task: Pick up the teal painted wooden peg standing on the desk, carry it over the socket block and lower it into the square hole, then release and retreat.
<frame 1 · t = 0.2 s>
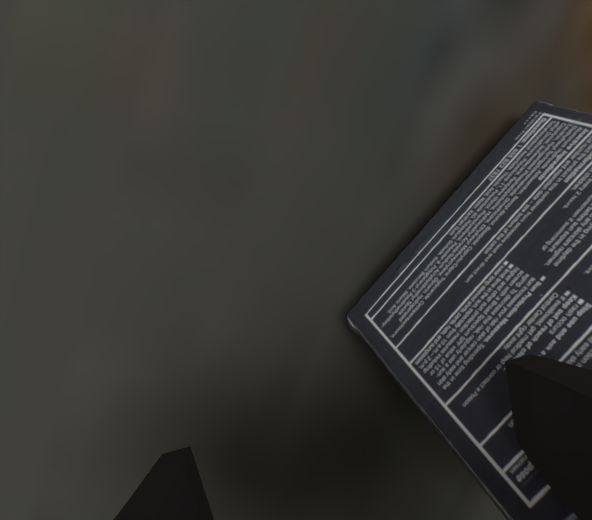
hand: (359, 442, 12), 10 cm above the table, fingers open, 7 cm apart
small box: (479, 253, 21), point 1 cm above the table
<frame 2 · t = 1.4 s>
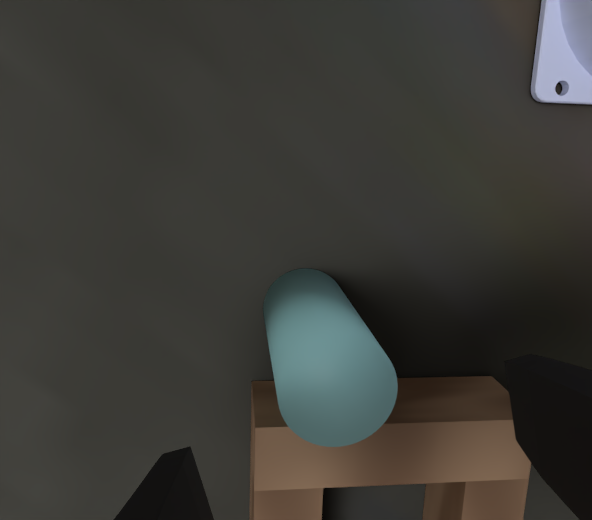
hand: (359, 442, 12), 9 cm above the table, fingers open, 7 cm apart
socket block: (367, 486, 23), on the table
peg: (304, 308, 21), on the table
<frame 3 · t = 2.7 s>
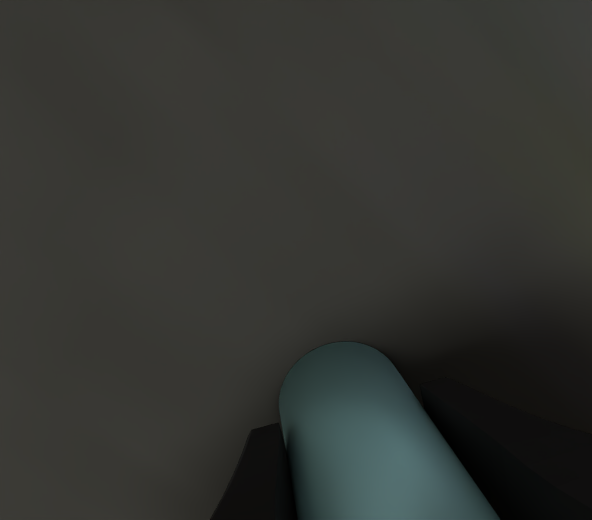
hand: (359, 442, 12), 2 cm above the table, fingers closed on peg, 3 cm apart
peg: (341, 400, 14), on the table, touching gripper
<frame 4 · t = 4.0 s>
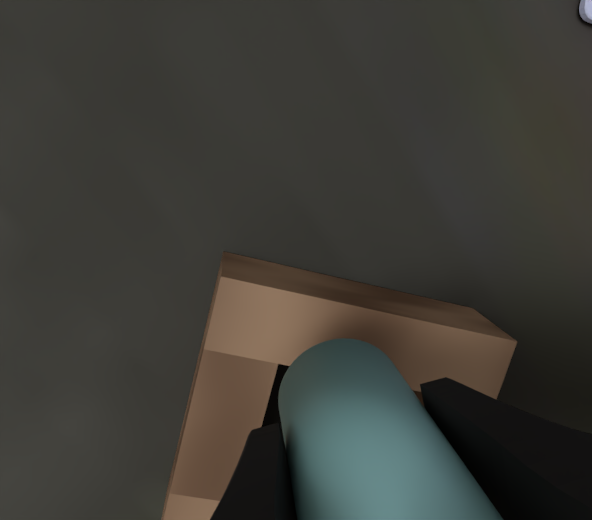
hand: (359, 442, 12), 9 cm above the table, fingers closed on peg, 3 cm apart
socket block: (318, 398, 21), on the table
peg: (340, 397, 14), point 7 cm above the table, touching gripper
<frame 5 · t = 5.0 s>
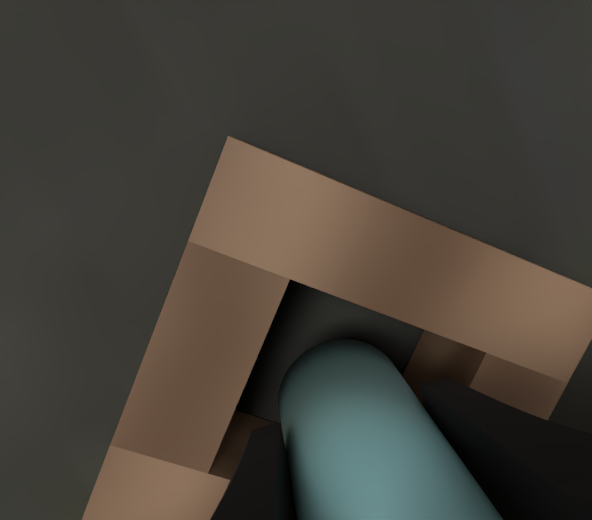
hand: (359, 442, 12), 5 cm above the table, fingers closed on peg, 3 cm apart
socket block: (324, 355, 16), on the table
peg: (340, 398, 14), point 3 cm above the table, touching gripper
when the fingers open (4 cm above the table, at t = 5.4 s): peg drops 2 cm, resting in socket block.
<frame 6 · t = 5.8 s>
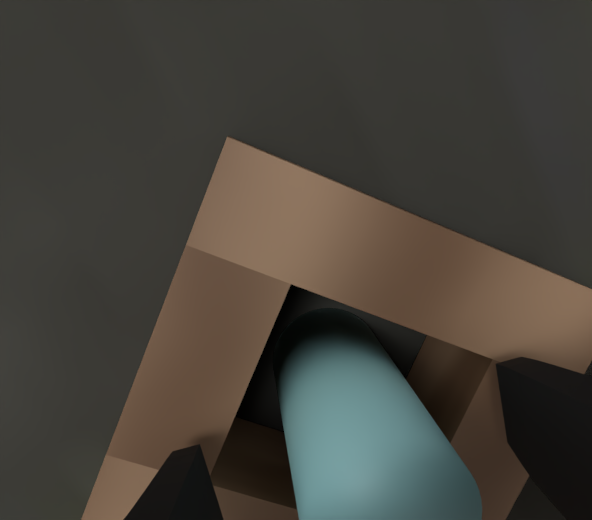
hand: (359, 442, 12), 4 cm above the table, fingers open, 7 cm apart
socket block: (325, 360, 16), on the table
peg: (326, 359, 16), resting in socket block
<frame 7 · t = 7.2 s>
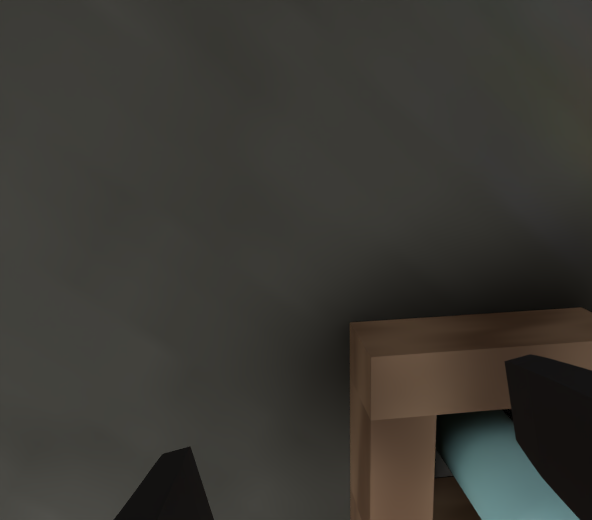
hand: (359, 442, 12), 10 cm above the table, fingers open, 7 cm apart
socket block: (462, 423, 23), on the table
peg: (462, 422, 23), resting in socket block
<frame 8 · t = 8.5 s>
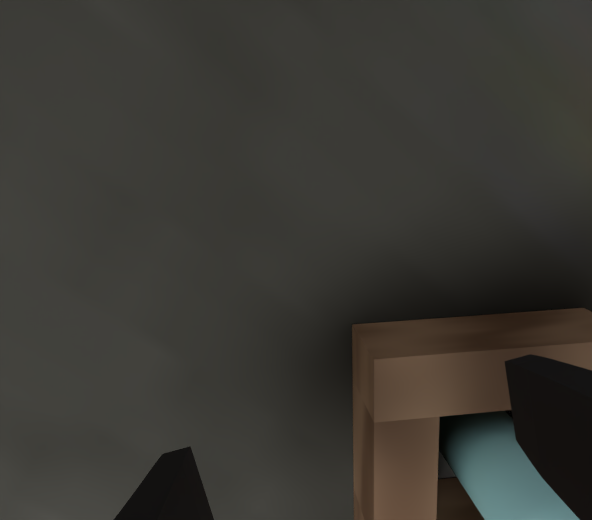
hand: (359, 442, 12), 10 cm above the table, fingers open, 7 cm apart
socket block: (465, 424, 23), on the table
peg: (465, 423, 24), resting in socket block
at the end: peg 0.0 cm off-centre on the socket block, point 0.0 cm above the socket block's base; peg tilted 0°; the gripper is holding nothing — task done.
